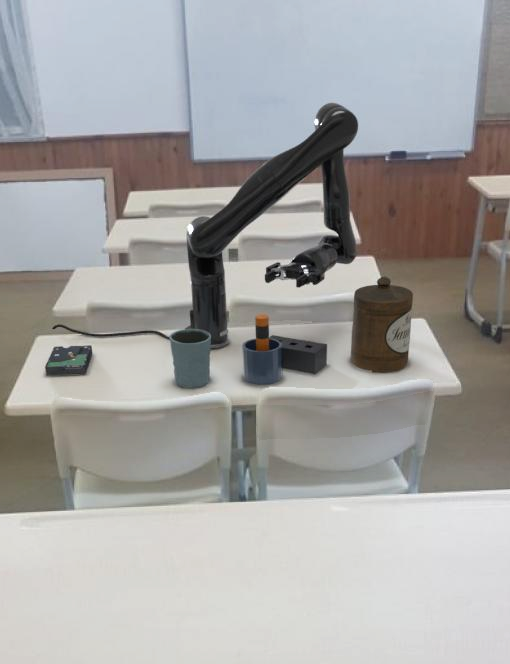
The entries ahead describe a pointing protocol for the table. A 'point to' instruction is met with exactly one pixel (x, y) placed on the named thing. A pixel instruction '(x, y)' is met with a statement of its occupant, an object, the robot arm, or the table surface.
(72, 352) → the disk drive
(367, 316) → the wooden container
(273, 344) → the pencil cup
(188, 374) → the grey-green cup
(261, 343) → the screwdriver
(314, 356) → the holder
